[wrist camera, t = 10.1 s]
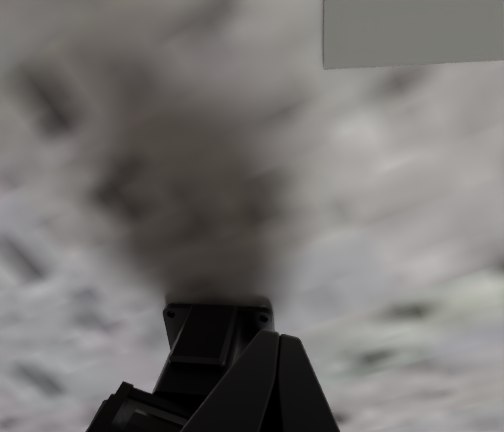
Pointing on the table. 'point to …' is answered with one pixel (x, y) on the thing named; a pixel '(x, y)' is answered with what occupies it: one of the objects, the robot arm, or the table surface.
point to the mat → (411, 32)
